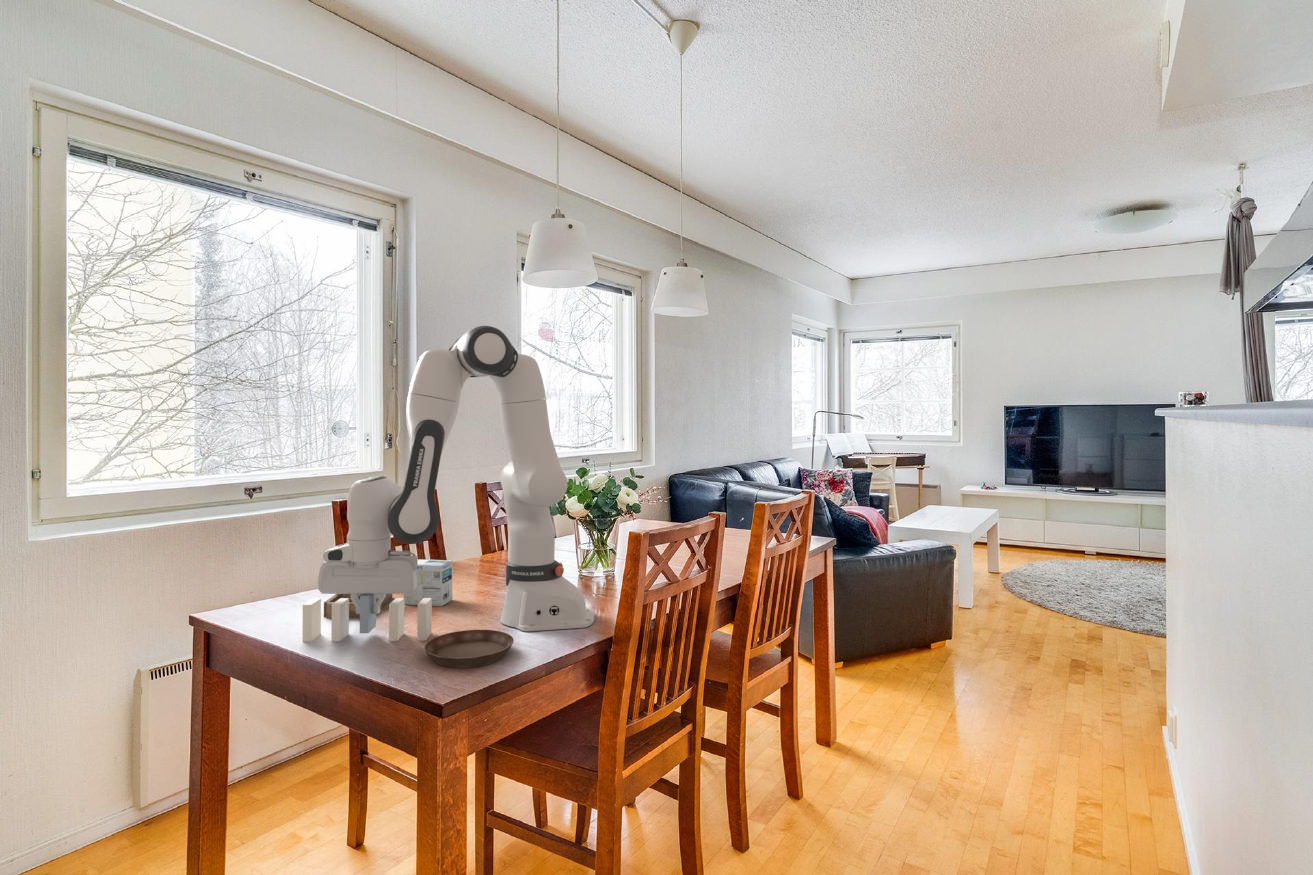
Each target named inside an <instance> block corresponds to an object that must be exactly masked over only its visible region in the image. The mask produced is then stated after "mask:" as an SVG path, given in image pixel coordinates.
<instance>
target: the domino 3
mask: <svg viewBox="0 0 1313 875" xmlns="http://www.w3.org/2000/svg"><path fill="white" fill-rule="evenodd" d="M359 600H360V618H359V634H370V633H371V632H372V631H373V630H374V629H375V628H376V626H377V614H371V611H372V610H371V606H372V605H373V604H376V594H363V595H362V596H360V598H359Z"/></svg>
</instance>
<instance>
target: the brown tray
mask: <svg viewBox="0 0 1313 875" xmlns="http://www.w3.org/2000/svg"><path fill="white" fill-rule="evenodd" d="M360 596H362V594H360ZM360 596H359V597H358V598H359V599H360ZM339 598H340V594H339ZM339 598H338V596H337V594H333V596H331V597H330V598H328V599H327V600H326V601H324V602H323V618H326V619H332V604H333V603H335V602H336V601H337V600H339ZM344 598H346V596H345V597H344ZM391 599H393V594H386V597H385V598H384V600H383V602H382V603H381V607H380V609H381V608H382V607H384V606H385V605H386V604H387V603H388V602H389V601H391ZM378 600H379V599H377V594H376V603H377V602H378ZM349 619H360V614H356V606H355V605H354V603H353V602H352V600H351V599H350V602H349Z"/></svg>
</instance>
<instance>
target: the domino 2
mask: <svg viewBox="0 0 1313 875" xmlns="http://www.w3.org/2000/svg"><path fill="white" fill-rule="evenodd" d="M349 624H350V618H349V598H340V599H339V600H337V601H336V602H335V603H333V604H332V618H331V642H341V641H342V640H344V639H345V638H346V637H347V636H348V635H349V632H350V631H349V630H350V625H349Z"/></svg>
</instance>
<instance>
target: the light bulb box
mask: <svg viewBox="0 0 1313 875" xmlns="http://www.w3.org/2000/svg"><path fill="white" fill-rule="evenodd" d="M417 559H418V558H417ZM416 575H417V587H416V589H415V590H414V591H413V592H412V593H410V594H403V598H404V606H406V605H412V606H418V603H419V602H420V601H421V600H422V599H423V598H432V607H443V606H445V605H447V604H448V603H450V602H451V601H452V600H453V560H452V559H451V560H449V559H448V560H447V559H445V560H444V559H443V560H442V559H420V558H419V559H418V562H417V568H416Z"/></svg>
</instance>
